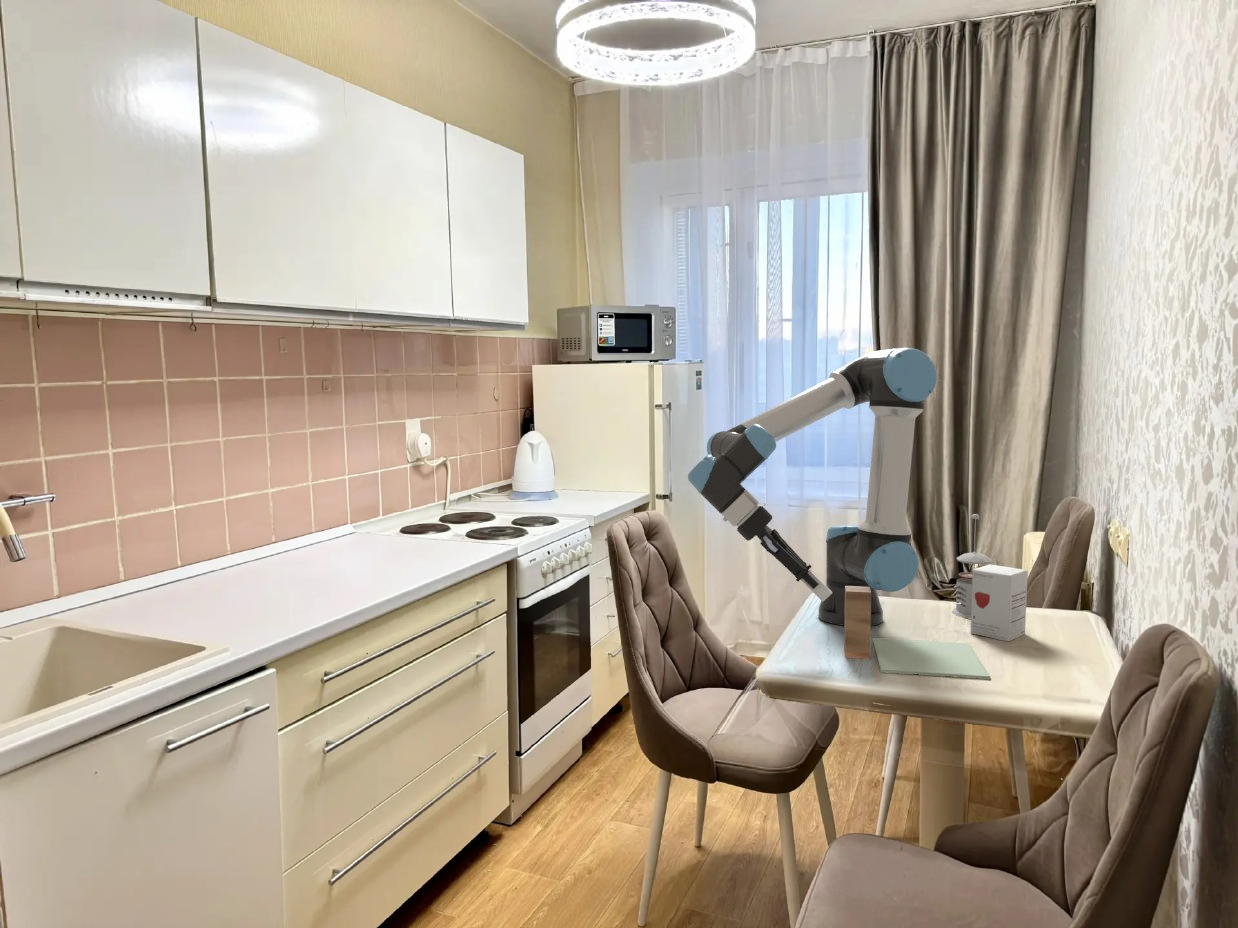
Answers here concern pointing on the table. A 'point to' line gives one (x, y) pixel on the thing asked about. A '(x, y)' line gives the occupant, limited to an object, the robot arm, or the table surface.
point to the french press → (968, 579)
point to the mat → (929, 658)
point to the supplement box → (999, 602)
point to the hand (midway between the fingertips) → (827, 596)
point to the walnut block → (857, 622)
